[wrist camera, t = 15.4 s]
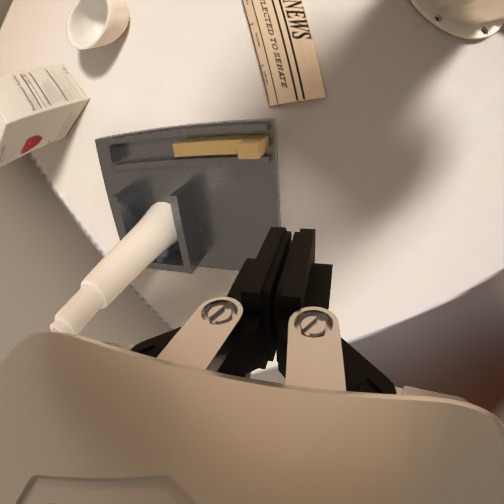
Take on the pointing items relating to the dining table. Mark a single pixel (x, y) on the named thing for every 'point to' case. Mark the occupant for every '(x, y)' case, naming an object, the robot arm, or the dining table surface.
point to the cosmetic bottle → (118, 268)
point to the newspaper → (285, 50)
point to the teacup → (96, 23)
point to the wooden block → (224, 146)
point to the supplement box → (37, 109)
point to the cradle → (195, 192)
